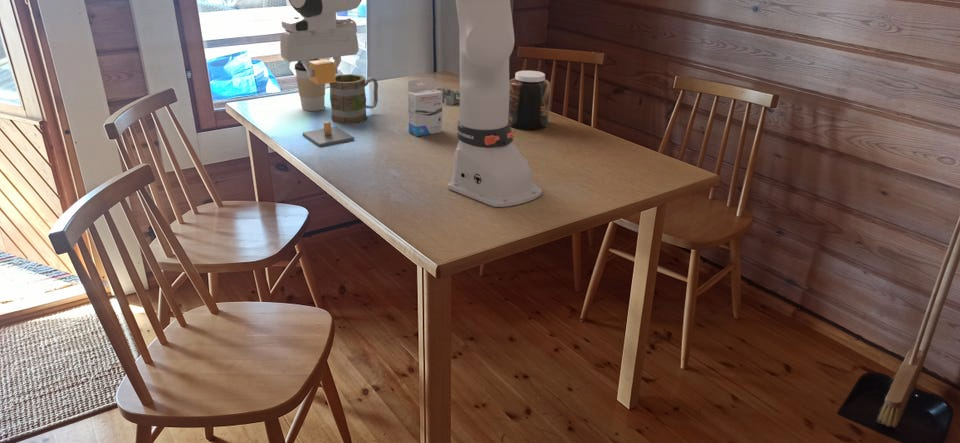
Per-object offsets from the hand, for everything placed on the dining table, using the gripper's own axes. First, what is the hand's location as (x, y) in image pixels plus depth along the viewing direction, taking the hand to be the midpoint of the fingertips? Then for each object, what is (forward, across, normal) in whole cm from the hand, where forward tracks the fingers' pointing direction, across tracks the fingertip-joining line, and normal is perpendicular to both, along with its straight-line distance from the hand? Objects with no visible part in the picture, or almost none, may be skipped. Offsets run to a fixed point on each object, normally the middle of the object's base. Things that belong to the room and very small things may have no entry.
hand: (322, 75), depth 176 cm
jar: (+17, -54, +20) cm, 60 cm away
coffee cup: (+18, -9, -29) cm, 35 cm away
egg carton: (+17, -49, -14) cm, 54 cm away
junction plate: (+17, 0, 0) cm, 17 cm away
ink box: (+17, -25, +10) cm, 32 cm away
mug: (+17, -15, -13) cm, 27 cm away
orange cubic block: (+2, 0, 0) cm, 2 cm away
